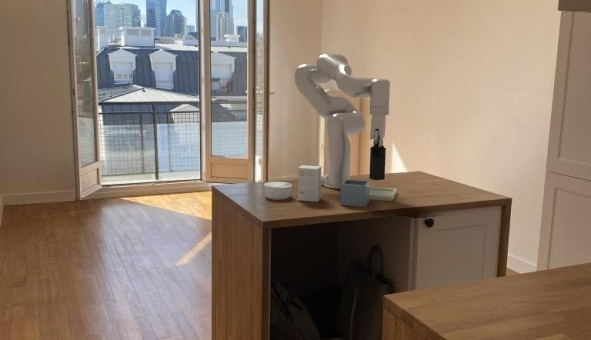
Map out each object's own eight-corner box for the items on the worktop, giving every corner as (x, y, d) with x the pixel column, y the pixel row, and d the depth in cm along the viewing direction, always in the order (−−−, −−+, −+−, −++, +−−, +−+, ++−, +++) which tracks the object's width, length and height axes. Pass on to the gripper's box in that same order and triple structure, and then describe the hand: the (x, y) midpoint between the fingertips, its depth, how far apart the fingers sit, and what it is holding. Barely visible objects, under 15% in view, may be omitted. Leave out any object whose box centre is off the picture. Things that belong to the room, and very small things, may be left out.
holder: (340, 204, 227) (340, 184, 226) (344, 199, 236) (345, 179, 235) (365, 206, 225) (366, 185, 223) (369, 201, 234) (369, 180, 233)
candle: (374, 180, 239) (377, 117, 234) (368, 178, 243) (370, 116, 239) (385, 179, 241) (388, 117, 236) (379, 177, 245) (381, 116, 241)
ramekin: (292, 200, 234) (292, 187, 233) (263, 200, 233) (264, 187, 232) (290, 194, 245) (291, 181, 244) (263, 194, 244) (263, 181, 243)
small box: (321, 198, 237) (321, 166, 235) (317, 202, 231) (318, 168, 229) (301, 197, 239) (301, 164, 237) (297, 200, 233) (297, 167, 231)
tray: (354, 198, 238) (354, 193, 238) (360, 190, 252) (360, 186, 252) (392, 201, 234) (392, 196, 234) (396, 193, 249) (396, 188, 248)
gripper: (372, 108, 246) (371, 152, 249) (366, 112, 230) (365, 158, 233) (391, 109, 244) (389, 153, 247) (386, 112, 228) (384, 159, 231)
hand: (377, 155), depth 240 cm, fingers closed on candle, 6 cm apart
